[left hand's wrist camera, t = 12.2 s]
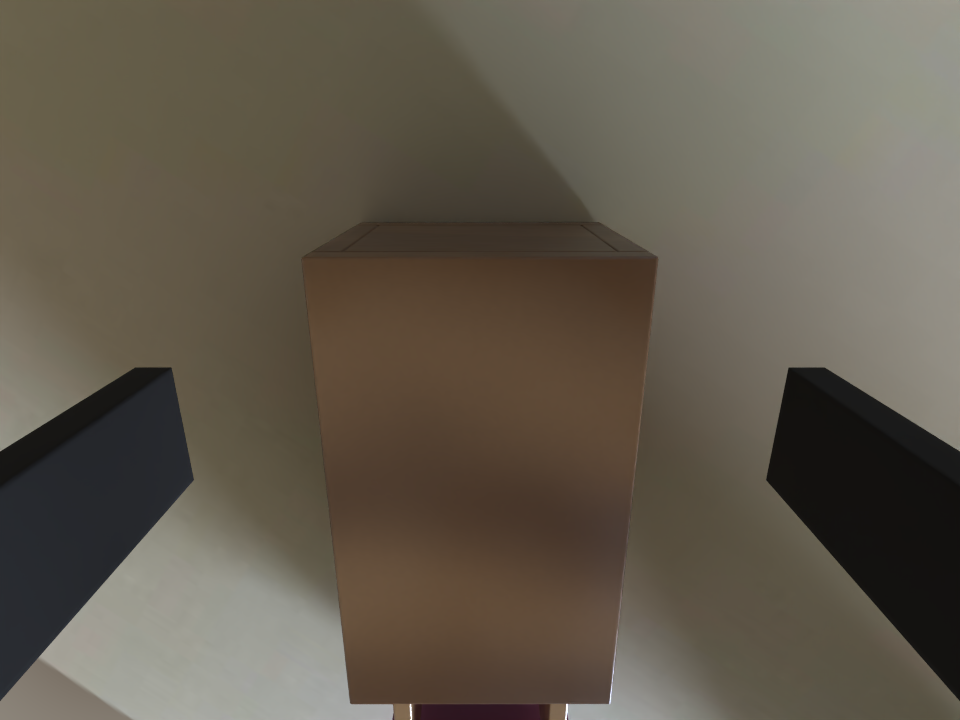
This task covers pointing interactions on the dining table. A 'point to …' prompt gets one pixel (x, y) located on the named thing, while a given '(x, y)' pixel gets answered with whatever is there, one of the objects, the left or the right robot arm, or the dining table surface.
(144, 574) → the dining table surface
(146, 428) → the left robot arm
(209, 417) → the dining table surface
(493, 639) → the cabinet
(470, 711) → the drawer
